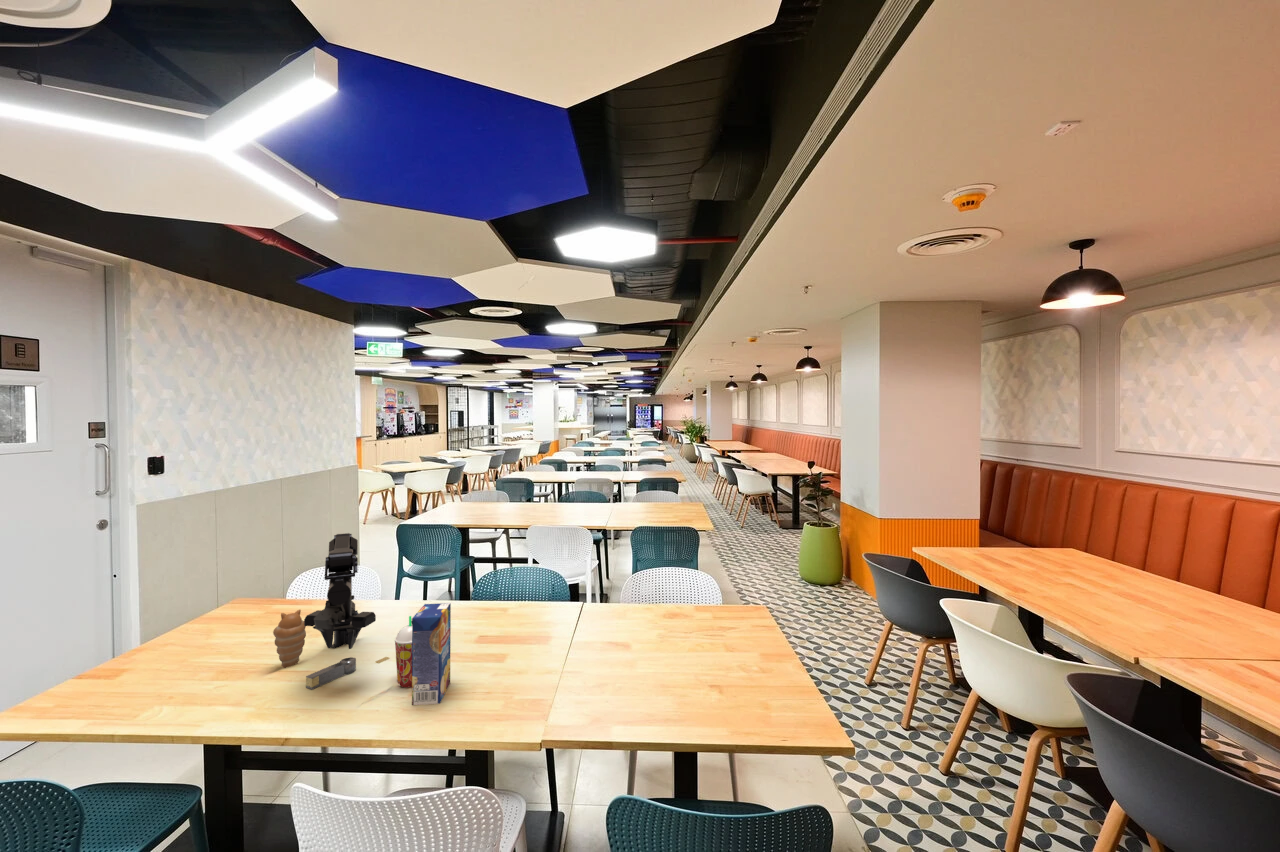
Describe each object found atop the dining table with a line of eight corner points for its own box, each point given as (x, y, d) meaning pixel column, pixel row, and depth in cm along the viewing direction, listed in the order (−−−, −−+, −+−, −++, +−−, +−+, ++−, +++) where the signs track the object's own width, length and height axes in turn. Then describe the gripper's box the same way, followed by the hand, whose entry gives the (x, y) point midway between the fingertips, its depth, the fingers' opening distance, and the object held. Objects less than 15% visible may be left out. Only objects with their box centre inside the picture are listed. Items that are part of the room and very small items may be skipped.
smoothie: (400, 677, 160) (401, 612, 160) (428, 676, 161) (428, 611, 161) (389, 690, 152) (390, 621, 152) (419, 689, 152) (419, 620, 153)
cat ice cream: (303, 660, 172) (303, 605, 173) (309, 667, 167) (309, 611, 167) (271, 668, 166) (271, 611, 166) (276, 676, 160) (276, 618, 161)
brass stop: (375, 664, 167) (375, 661, 167) (386, 659, 171) (386, 656, 171) (378, 665, 166) (378, 662, 166) (389, 660, 170) (389, 657, 170)
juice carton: (439, 703, 144) (440, 616, 145) (411, 705, 144) (412, 618, 144) (450, 683, 156) (450, 602, 157) (424, 684, 156) (424, 603, 156)
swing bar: (349, 667, 164) (349, 656, 164) (359, 670, 162) (359, 659, 162) (304, 687, 151) (304, 675, 151) (313, 690, 149) (313, 678, 149)
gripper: (289, 602, 146) (289, 658, 145) (353, 604, 144) (352, 661, 144) (317, 590, 157) (317, 643, 157) (376, 592, 155) (376, 645, 155)
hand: (340, 648), depth 153 cm, fingers open, 6 cm apart
